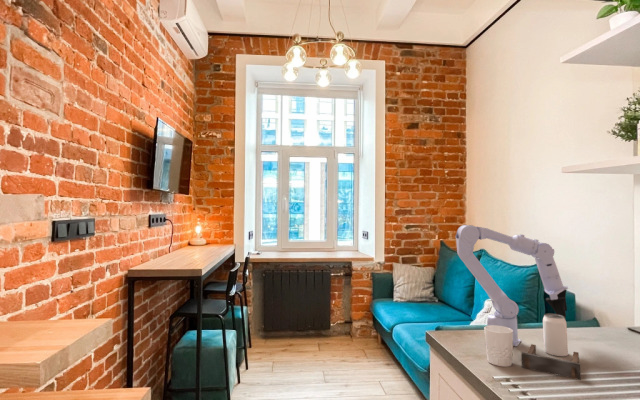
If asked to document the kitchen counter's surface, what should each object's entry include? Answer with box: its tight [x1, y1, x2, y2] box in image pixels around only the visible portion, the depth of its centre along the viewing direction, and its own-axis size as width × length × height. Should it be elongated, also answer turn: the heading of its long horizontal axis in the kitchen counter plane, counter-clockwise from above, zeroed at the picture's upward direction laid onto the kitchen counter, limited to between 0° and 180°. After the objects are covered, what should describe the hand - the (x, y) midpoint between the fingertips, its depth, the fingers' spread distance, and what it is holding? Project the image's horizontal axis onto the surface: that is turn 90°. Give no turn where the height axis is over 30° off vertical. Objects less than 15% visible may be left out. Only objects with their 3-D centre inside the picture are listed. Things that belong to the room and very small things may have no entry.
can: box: [542, 313, 569, 358], centre depth 116 cm, size 6×6×12 cm
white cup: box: [483, 325, 514, 368], centre depth 109 cm, size 8×8×10 cm
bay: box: [521, 343, 582, 381], centre depth 106 cm, size 14×14×4 cm
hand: (563, 314), depth 124 cm, fingers open, 7 cm apart
